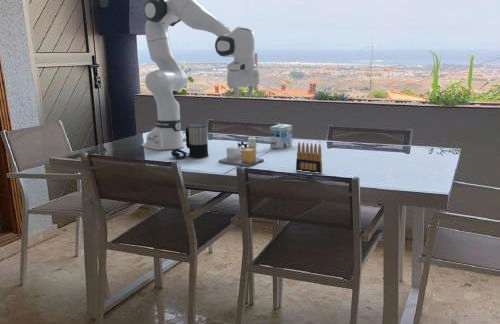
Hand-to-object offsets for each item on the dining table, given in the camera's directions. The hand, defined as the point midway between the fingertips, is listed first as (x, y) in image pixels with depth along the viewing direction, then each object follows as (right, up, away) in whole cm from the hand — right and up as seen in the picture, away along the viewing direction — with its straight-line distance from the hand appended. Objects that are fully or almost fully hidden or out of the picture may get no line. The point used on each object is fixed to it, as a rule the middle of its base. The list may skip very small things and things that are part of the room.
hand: (243, 96), depth 210 cm
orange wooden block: (+2, -29, -5) cm, 29 cm away
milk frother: (-25, -27, +8) cm, 38 cm away
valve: (+2, -25, +16) cm, 30 cm away
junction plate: (-1, -29, -2) cm, 29 cm away
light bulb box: (+19, -21, +29) cm, 41 cm away
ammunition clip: (+27, -33, -20) cm, 47 cm away
